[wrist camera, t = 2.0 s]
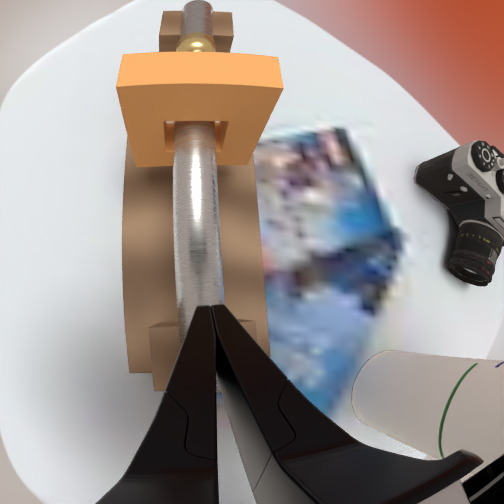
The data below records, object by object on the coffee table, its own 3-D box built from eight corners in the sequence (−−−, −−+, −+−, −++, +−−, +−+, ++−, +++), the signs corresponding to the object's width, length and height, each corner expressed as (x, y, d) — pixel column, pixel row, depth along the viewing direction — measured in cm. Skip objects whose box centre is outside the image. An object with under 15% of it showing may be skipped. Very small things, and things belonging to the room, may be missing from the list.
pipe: (230, 380, 15) (239, 391, 13) (181, 383, 15) (181, 396, 12) (212, 23, 19) (217, -1, 17) (179, 22, 19) (181, -2, 16)
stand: (267, 360, 23) (310, 384, 15) (131, 370, 21) (105, 401, 13) (243, 77, 27) (264, 12, 19) (137, 77, 25) (130, 9, 17)
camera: (391, 237, 29) (460, 230, 19) (422, 149, 30) (484, 119, 20) (476, 297, 30) (540, 306, 20) (499, 218, 31) (558, 210, 21)
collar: (246, 165, 20) (283, 88, 12) (136, 167, 19) (115, 86, 11) (244, 138, 20) (278, 57, 13) (138, 140, 19) (122, 54, 11)
